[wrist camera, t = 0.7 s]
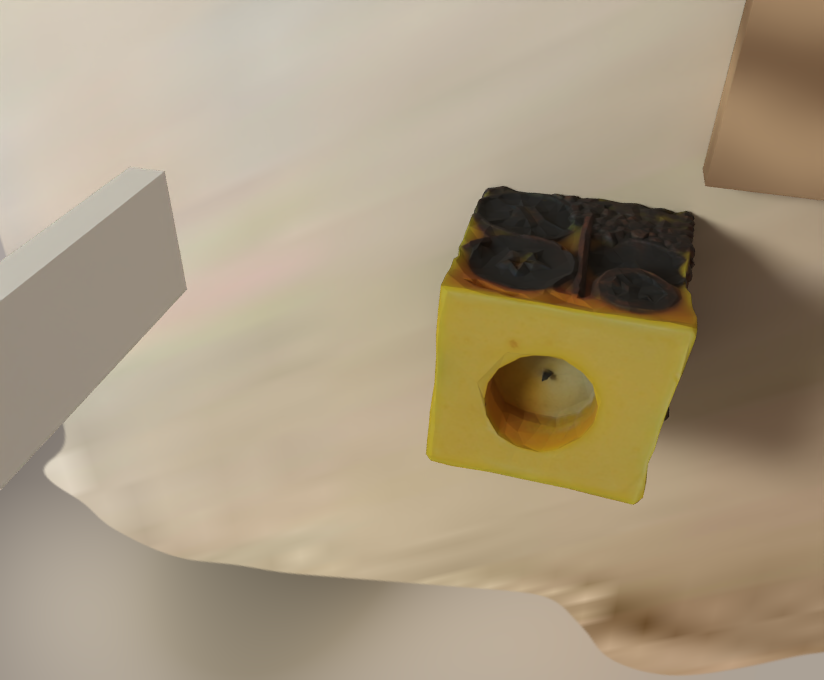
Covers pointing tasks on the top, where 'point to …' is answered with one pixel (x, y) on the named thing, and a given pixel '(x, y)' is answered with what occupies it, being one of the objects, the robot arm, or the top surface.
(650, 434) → the black and yellow cube
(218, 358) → the top surface
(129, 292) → the robot arm
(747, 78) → the seat board
